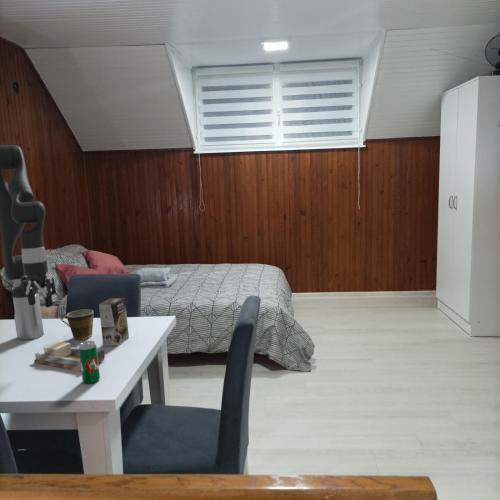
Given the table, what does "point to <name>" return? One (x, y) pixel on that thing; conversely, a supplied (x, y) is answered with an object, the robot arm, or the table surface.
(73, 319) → the ceramic cup
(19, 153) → the robot arm
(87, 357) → the soda can
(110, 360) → the table surface
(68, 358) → the shallow wooden tray
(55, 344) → the birch block
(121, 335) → the coffee box
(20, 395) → the table surface
